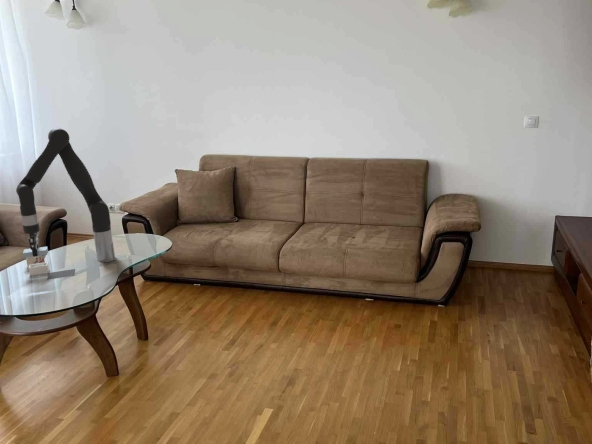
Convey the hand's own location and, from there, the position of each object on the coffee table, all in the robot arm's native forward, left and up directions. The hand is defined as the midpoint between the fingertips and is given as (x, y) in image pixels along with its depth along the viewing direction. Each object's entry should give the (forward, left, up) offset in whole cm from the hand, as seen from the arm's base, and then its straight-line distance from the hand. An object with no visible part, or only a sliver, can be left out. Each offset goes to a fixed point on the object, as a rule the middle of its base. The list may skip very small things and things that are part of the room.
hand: (36, 254), depth 286 cm
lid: (0, 0, 0) cm, 0 cm away
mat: (-11, +8, -11) cm, 18 cm away
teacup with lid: (+2, -14, -11) cm, 18 cm away
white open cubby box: (0, 0, -11) cm, 11 cm away
